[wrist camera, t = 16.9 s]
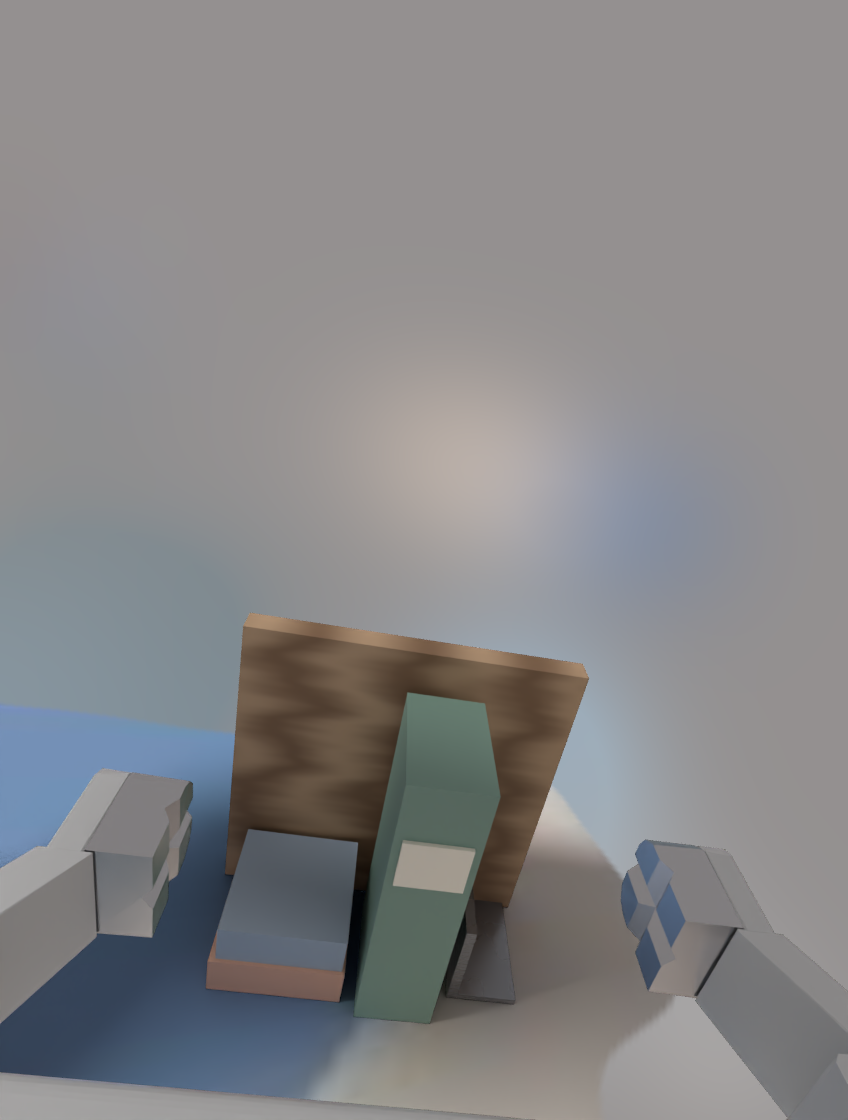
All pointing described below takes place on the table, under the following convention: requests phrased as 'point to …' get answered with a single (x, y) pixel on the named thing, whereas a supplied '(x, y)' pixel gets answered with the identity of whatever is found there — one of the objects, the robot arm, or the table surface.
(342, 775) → the shelf wall
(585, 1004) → the table surface
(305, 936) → the book stack
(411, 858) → the green book
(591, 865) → the table surface
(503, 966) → the bookend
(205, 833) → the table surface
